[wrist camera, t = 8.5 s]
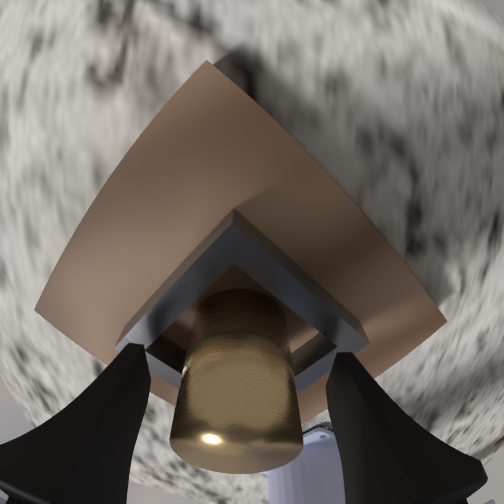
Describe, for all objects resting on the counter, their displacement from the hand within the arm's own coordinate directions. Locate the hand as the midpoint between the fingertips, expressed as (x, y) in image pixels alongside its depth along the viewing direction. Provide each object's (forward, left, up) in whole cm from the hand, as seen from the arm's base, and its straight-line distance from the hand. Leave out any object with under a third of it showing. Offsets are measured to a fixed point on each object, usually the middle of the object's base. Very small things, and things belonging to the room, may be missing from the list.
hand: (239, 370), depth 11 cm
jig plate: (0, 0, -4) cm, 4 cm away
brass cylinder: (0, 0, -2) cm, 3 cm away
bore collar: (0, 0, -2) cm, 2 cm away
